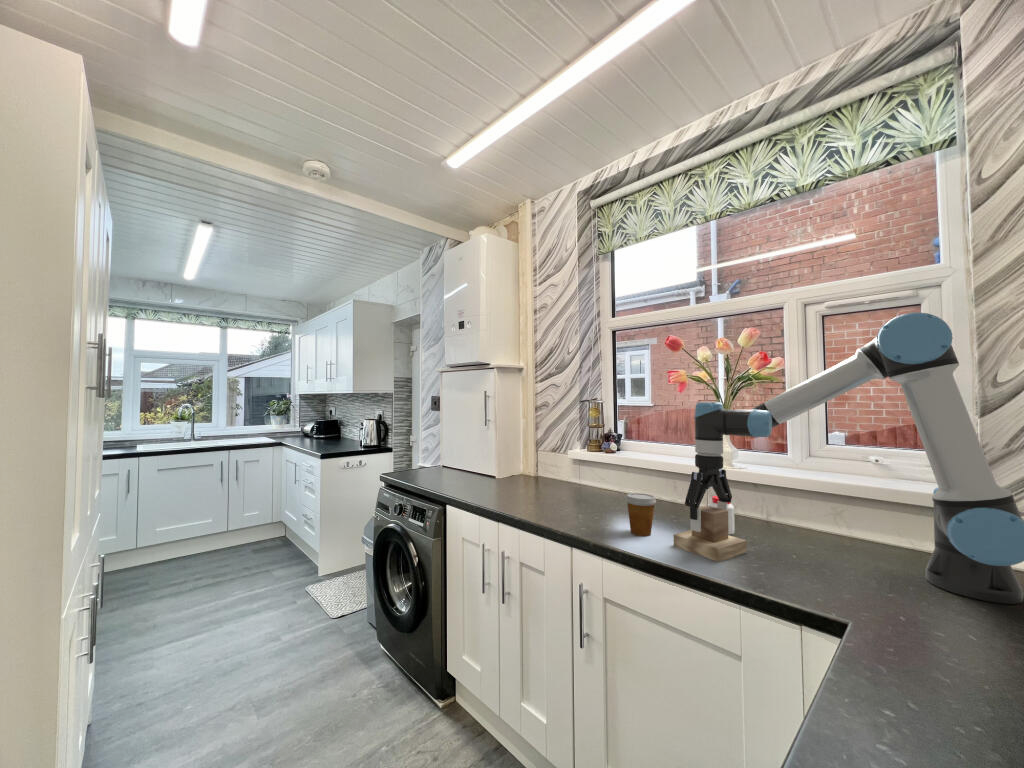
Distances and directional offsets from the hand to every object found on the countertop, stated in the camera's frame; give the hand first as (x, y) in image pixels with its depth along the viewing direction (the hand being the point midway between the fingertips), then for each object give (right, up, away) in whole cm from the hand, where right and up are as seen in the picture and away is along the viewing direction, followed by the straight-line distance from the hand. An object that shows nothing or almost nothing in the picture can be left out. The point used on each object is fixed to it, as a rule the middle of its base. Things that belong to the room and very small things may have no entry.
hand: (709, 527), depth 119 cm
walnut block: (0, -3, 0) cm, 3 cm away
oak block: (0, -7, 0) cm, 7 cm away
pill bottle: (+12, -7, +17) cm, 22 cm away
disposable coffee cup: (-16, -7, +13) cm, 22 cm away
